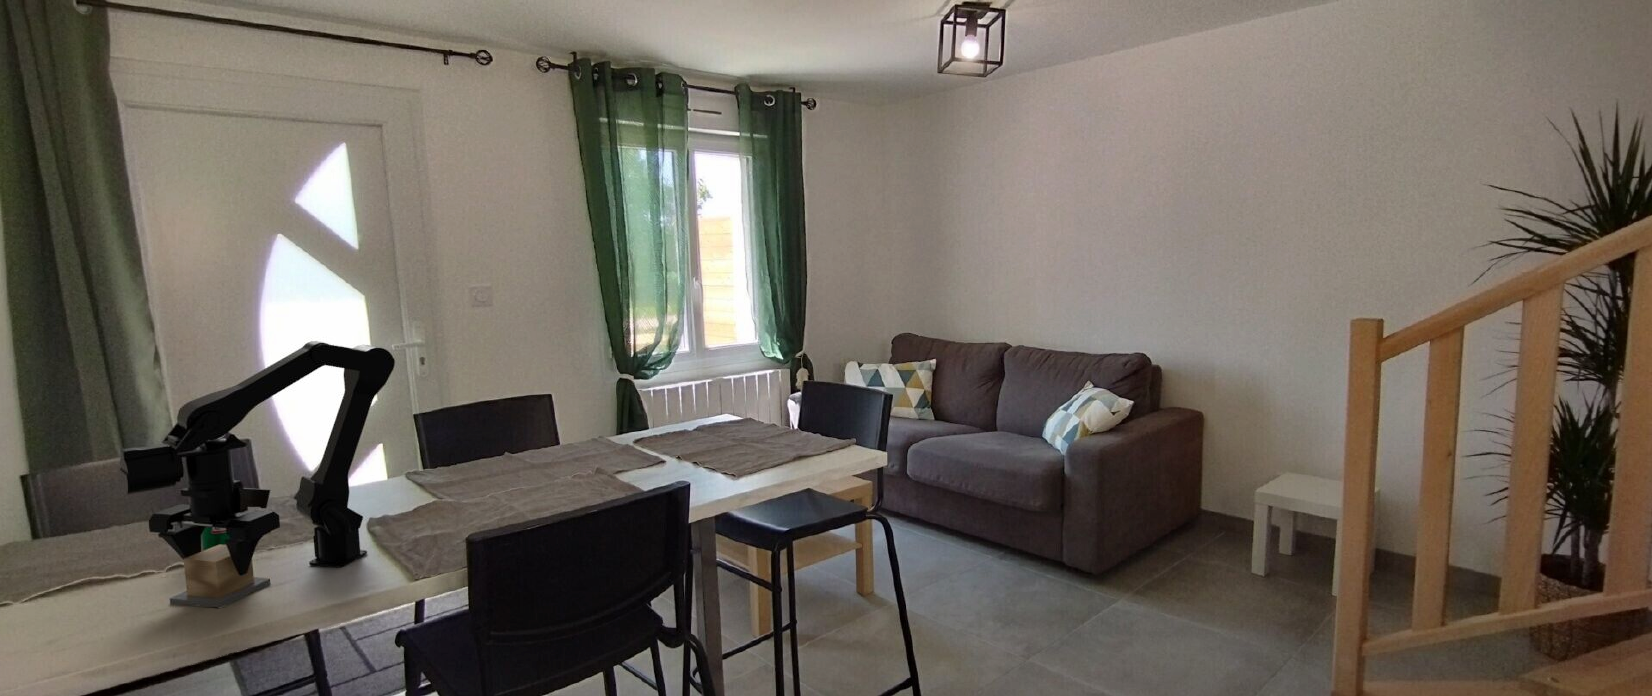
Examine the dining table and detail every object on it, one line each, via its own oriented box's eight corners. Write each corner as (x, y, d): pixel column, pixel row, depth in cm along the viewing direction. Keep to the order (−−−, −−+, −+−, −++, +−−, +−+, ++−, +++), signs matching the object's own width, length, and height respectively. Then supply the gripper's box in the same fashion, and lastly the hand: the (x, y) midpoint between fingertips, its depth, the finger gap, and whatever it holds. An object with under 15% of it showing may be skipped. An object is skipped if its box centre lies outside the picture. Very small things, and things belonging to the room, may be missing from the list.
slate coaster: (270, 583, 126) (270, 578, 126) (219, 608, 117) (218, 603, 117) (224, 578, 127) (223, 574, 127) (170, 603, 118) (169, 598, 118)
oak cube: (254, 581, 124) (250, 547, 124) (219, 598, 119) (216, 561, 118) (223, 578, 125) (219, 544, 125) (187, 594, 119) (183, 558, 119)
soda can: (217, 555, 136) (211, 491, 135) (194, 552, 137) (188, 489, 136) (244, 544, 141) (238, 483, 140) (222, 542, 142) (216, 481, 141)
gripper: (304, 468, 126) (312, 556, 128) (209, 461, 129) (218, 548, 131) (243, 488, 115) (252, 585, 117) (140, 481, 118) (151, 575, 120)
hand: (220, 572), depth 122 cm, fingers open, 8 cm apart
